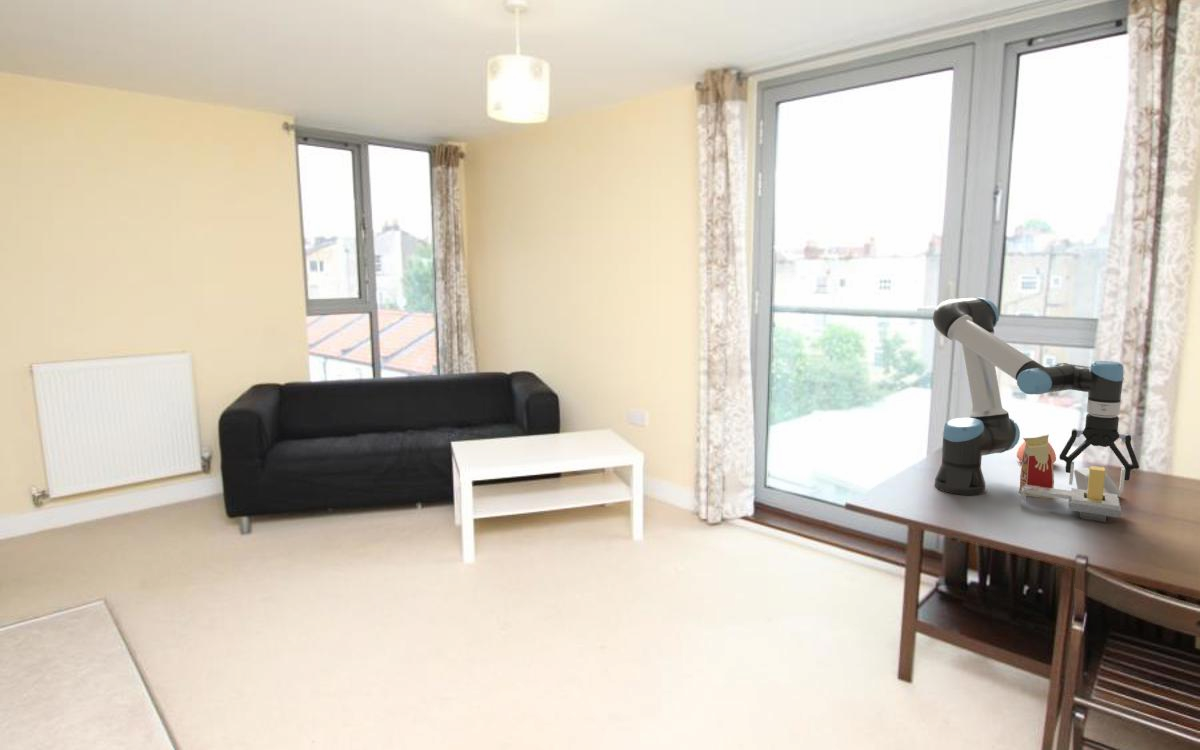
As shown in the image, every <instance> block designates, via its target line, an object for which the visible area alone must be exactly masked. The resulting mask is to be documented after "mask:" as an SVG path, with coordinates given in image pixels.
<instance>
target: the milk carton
mask: <svg viewBox="0 0 1200 750" xmlns="http://www.w3.org/2000/svg"><path fill="white" fill-rule="evenodd" d="M1049 436H1050V434H1048V433H1047V434H1044V435H1040V436H1034V437H1022V439H1023V440H1024V442H1026V446H1025V450H1024V454H1023V459H1022V462H1021V466H1020V467H1021V468H1020V475H1019V489H1018V492H1019V493H1020V494H1021V490H1022V486H1025V484H1026V485H1033V486H1040V487H1047V488H1054V489H1055V487H1054V486H1055V478H1054V477H1055V476H1054V475H1055V474H1054V463H1053V461H1052V457H1051V454H1050V450H1049V446H1048V442H1049ZM1026 497H1036V498H1043V499H1051V500H1052V499H1053V497H1049V496H1042V495H1035V494H1029V493H1026Z"/></svg>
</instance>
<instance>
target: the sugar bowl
mask: <svg viewBox="0 0 1200 750" xmlns="http://www.w3.org/2000/svg"><path fill="white" fill-rule="evenodd" d="M1025 446H1026V442H1025V441H1023V442H1022V444H1021V445H1020V446H1019V447H1018V449H1017V452H1016V458H1017V459H1018V461H1019V462H1021V463H1022V459H1023V454H1024V450H1025ZM1048 446H1049V450H1050V454H1051V457H1052V461H1053V464H1054V463H1055V462H1056V461H1057V455H1056V452H1055V449H1054V448H1053V446H1052V445H1051V443H1050V442H1049V441H1048Z"/></svg>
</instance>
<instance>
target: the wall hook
mask: <svg viewBox="0 0 1200 750" xmlns="http://www.w3.org/2000/svg"><path fill="white" fill-rule="evenodd" d="M1089 470H1090V467H1089V468H1088V467H1084V468H1083V467H1082V468H1078V469H1076V468H1075V469H1074V471H1073V474H1074V477H1075V482H1076V489H1082V490H1088V480H1089ZM1103 489H1104V490H1105V491H1106V493H1110V494H1117V497H1118V498H1119V496H1121V495H1122V492H1121V491H1120V490H1119V487H1118V485H1116V483H1115V482H1114V481H1113V480H1112V479H1111V478H1110V476H1109V474H1108V473H1106V472H1105V478H1104V487H1103Z"/></svg>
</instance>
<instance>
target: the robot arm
mask: <svg viewBox="0 0 1200 750" xmlns="http://www.w3.org/2000/svg"><path fill="white" fill-rule="evenodd" d="M999 319H1000V312H999V309H998V307H997V306H996V304H995V303H994V301H991V300H990V299H988V298H985V297H975V296H974V297H968V298H967V297H966V298H965V297H964V298H953V299H951V298H950V299H947V300H945V301H942V302H941V303H940V304H938V306H937V307H936V308H935V309H934V312H933V316H932V321H933V325H934V327H935V328H936V330H937V331H938V332H940V334H941V335H942V336H944V337H946V338H947V339H948V340H950V341H953V342H955V341H957V342H958V343H960V344H962V351H963V356H964V361H965V362H964V363H965V368H966V375H967V380H968V381H967V382H968V386H969V392H970V397H971V402H972V409H973V410H972V412H971V413H970V415H969V417H957V418H950V419H949V420H947V421H946V422H945V423H944V425H943V431H942V451H941V452H942V454H941V464H940V467H939V469H938V471H937V474H936V476H935V478H934V486H935V488H937V487H938V488H939V489H938V488H937V489H938V490H940V489H942V490H941V491H943V490H944V491H943V492H945V491H947V492H946V493H949V492H951V493H950V494H954V493H955V494H954V495H960V494H962V495H963V496H978V495H982V494H985V492H986V491H987V489H986V485H987V484H986V480H985V477H984V474H983V471H982V456H988V455H993V454H1002V453H1005V452H1007V451H1011V450H1012V449H1014V448H1015V447H1016V445H1017V444H1019V441H1020V437H1021V432H1020V431H1021V430H1020V427H1019V425H1018V423H1017V422H1015V420H1014V419H1012V418H1010V415H1009V412H1008V411H1007V410H1006V409H1004V408H1003V405H1002V399H1001V398H1002V397H1001V394H1000V393H1001V392H1000V388H999V383H998V381H999V380H998V375H997V372H996V367H997V368H998V369H999V370H1001V371H1002V372H1003V373H1005V374H1007V375H1008V376H1010V377H1011V378H1012V379H1014V380H1016V385H1017V387H1018V388H1019V390H1020V391H1021V392H1023V393H1024V394H1026V395H1042V394H1043V395H1044V394H1048V393H1053V392H1055V393H1056V392H1061V391H1062V392H1063V391H1068V390H1069V391H1070V390H1072V391H1079V392H1085V393H1088V394H1087V405H1086V412H1087V414H1086V417H1085V424H1084V425H1085V427H1084V428H1083V430H1082V429H1077V428H1072V429H1071V436H1070V437H1069V439H1068V441H1067V443H1066V444H1065V446H1064V447H1063V449H1062V451H1061V452H1060V453H1059V460H1060V461H1064V462H1065V473H1067V474H1069V482H1068V485H1071V486H1072V485H1073V482H1074V480H1073V479H1074V470H1075V469H1074V468H1075V461H1074V460H1075V459H1076V458H1077V457H1078V456H1080V455H1081V454H1082V453H1083V452H1084V451H1086V449H1087V448H1089V447H1090V446H1093V447H1103V448H1107V447H1109V449H1111V451H1112V452H1113V454H1115V456H1116V458H1117V459H1118V460H1119V462H1120V463H1121V464H1122V467H1121V469H1120V479H1119V487H1118V489H1119V490H1120V491H1121V492H1124V487H1125V481H1129V480H1130V478H1131V471H1132V470H1137V469H1139V468H1140V465H1139V462H1138V458H1137V457H1136V454H1135V451H1134V448H1133V446H1132V443H1131V442H1132V436H1131V435H1132V434H1130V433H1126V434H1123V433H1119V431H1118V429H1119V423H1120V422H1119V420H1120V417H1119V415H1120V411H1121V400H1122V399H1121V398H1122V397H1121V396H1122V389H1123V381H1124V365H1123V364H1122V363H1120V362H1118V361H1110V360H1109V361H1108V360H1096V361H1092V363H1091V365H1090V366H1085V365H1080V364H1079V365H1077V364H1072V363H1067V362H1062V363H1061V362H1053V363H1051V364H1050V365H1049V366H1044V365H1042V364H1041V363H1039V362H1037V361H1035V360H1034V359H1032V358H1031V357H1029V356H1028V355H1026V354H1025V353H1023V352H1021V351H1020V350H1018V349H1017V348H1015V347H1013V346H1012V345H1010V344H1008V343H1007V342H1005V341H1004V340H1002V339H1001V338H999V336H998V337H997V336H996V335H995V329H994V328H995V327H996V326H997V324H998V322H999ZM1081 435H1083V437H1084V438H1085V439H1084V441H1083V442H1081V444H1080V445H1079V446H1078V447H1077V448H1076V449H1075V450H1073V452H1071V453H1070V454H1069V455H1068V453H1069V452H1070V450H1071V448H1072V447H1073V445H1074V443H1075V442H1076V439H1077V438H1080V436H1081ZM1118 439H1121V442H1123V443H1125V447H1126V449H1127V453H1128V455H1129V458H1130V462H1131V463H1129V462H1128V460H1127V459H1126V458H1125V456H1124V455H1123V453H1122V452H1121V451H1120V450H1119V448H1118V446H1117V445H1116V444H1115V442H1116V441H1117V440H1118ZM1067 455H1068V456H1067ZM962 495H961V496H962Z"/></svg>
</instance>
